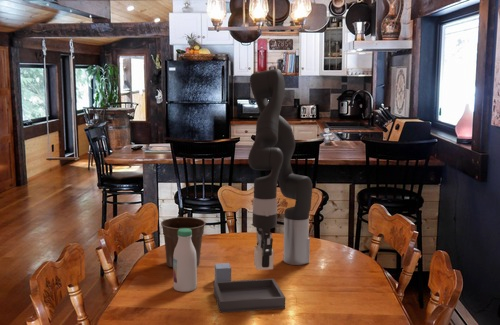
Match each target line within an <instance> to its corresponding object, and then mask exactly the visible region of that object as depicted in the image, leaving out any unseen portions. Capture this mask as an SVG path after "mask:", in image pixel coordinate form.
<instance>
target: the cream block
mask: <svg viewBox="0 0 500 325" xmlns="http://www.w3.org/2000/svg"><path fill="white" fill-rule="evenodd" d="M266 252H268V249H266ZM274 253H275V252H274V249H273V248H272V255H271V256H269V267H262V249H261V248H260V246H257V245H255V246H254V256H253V257H254V259H253V262H254V263H253V264H254V266H255V268H256V270H257V271H259V270H260V271H261V270H262V271H263V270H274Z"/></svg>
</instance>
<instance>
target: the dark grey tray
mask: <svg viewBox="0 0 500 325" xmlns="http://www.w3.org/2000/svg"><path fill="white" fill-rule="evenodd" d="M213 295H214V296H215V300H216V304H217V307H218V311H219V313H221V314H223V313H224V314H225V313H236V312H237V313H239V312H254V311H255V312H256V311H266V310H284V309H286V297H285V295H284V293H283V291H282V289H281V288H280V286H279V284H278V283H277V281H276V280H275V278H261V279H259V278H258V279H244V280H243V279H242V280H231V281H222V282H215V281H214V282H213Z"/></svg>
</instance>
